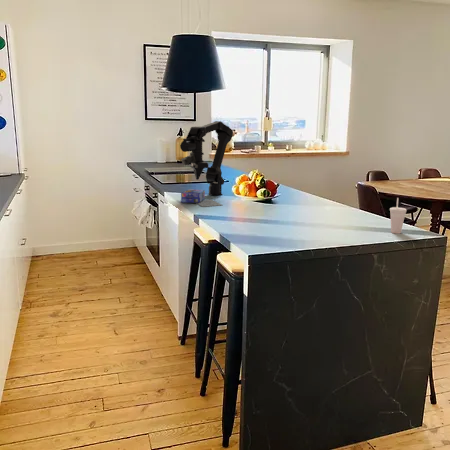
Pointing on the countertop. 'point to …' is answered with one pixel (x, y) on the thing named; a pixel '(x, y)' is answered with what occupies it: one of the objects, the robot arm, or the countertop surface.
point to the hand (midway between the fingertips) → (197, 179)
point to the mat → (208, 203)
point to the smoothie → (397, 218)
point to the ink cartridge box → (192, 196)
